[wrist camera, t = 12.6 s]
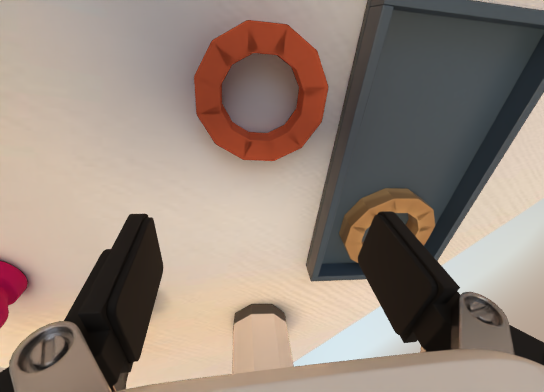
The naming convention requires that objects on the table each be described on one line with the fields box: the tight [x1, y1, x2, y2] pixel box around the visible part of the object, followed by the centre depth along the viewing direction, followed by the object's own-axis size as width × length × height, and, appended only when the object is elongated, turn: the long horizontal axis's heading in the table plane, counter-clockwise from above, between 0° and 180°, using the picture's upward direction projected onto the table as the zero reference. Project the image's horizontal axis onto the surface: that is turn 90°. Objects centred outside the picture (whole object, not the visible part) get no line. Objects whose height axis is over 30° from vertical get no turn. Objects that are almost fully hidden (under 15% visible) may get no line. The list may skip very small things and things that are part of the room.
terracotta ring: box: [194, 20, 328, 161], centre depth 20 cm, size 10×10×2 cm
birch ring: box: [339, 188, 435, 263], centre depth 28 cm, size 10×10×2 cm
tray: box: [306, 0, 544, 281], centre depth 25 cm, size 28×16×3 cm, turn 175°
